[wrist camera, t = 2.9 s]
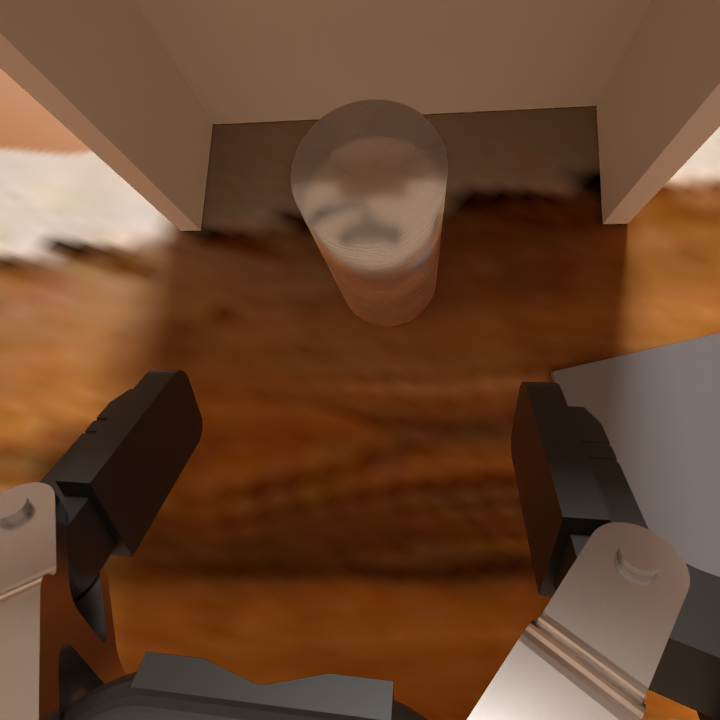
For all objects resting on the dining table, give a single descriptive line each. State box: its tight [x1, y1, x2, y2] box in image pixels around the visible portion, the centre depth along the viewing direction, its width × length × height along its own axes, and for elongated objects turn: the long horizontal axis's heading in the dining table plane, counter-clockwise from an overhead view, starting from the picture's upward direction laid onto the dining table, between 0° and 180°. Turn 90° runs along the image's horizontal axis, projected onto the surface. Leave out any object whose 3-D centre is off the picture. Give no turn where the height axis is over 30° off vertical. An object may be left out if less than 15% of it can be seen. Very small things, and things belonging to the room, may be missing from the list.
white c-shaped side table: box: [0, 0, 720, 231], centre depth 15 cm, size 24×14×21 cm, turn 87°
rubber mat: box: [550, 333, 720, 577], centre depth 20 cm, size 11×11×1 cm
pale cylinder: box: [291, 99, 448, 327], centre depth 19 cm, size 5×5×10 cm
